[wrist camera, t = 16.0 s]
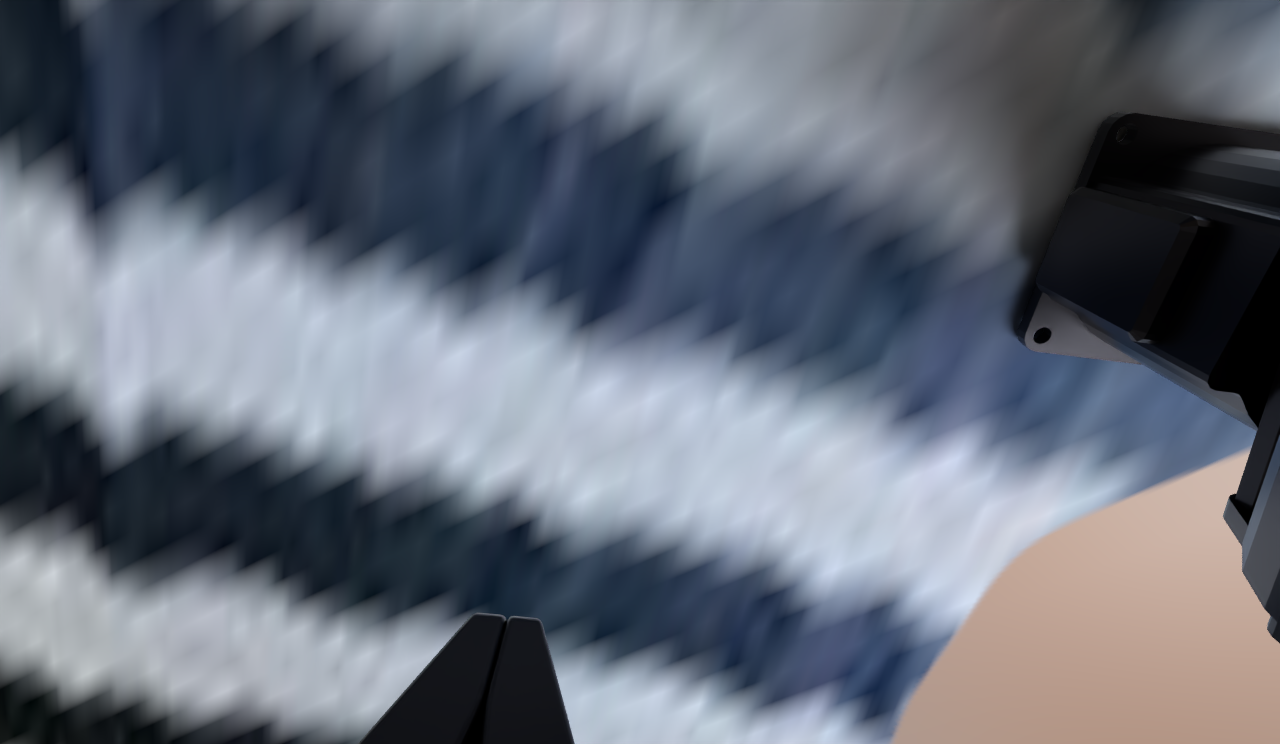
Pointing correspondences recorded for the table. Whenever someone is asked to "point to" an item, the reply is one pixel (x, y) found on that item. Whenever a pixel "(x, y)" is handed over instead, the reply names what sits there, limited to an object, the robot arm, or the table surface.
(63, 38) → the table surface
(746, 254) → the table surface
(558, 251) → the table surface
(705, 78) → the table surface
